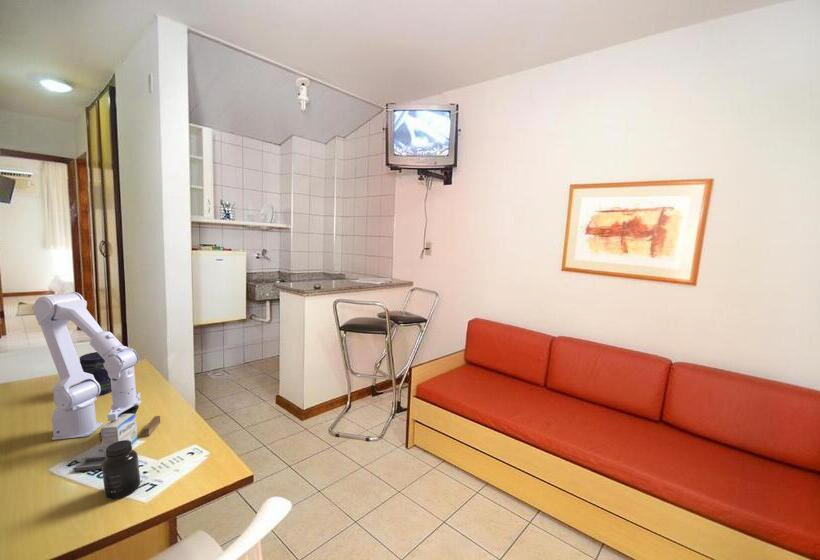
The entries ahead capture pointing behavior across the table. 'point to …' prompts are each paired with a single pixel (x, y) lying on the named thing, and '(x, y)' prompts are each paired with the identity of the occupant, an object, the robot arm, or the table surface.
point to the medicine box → (119, 430)
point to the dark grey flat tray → (90, 463)
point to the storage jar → (97, 371)
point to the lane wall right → (151, 426)
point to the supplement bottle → (120, 470)
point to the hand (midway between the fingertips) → (127, 430)
